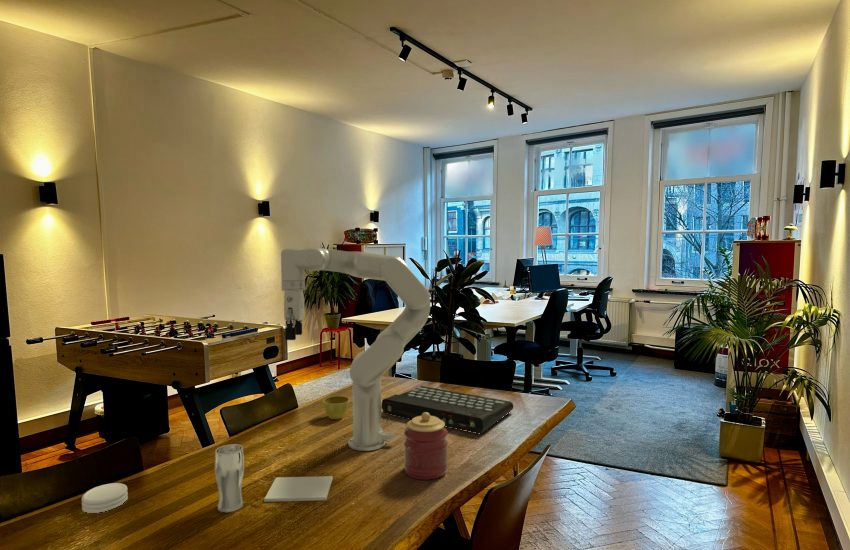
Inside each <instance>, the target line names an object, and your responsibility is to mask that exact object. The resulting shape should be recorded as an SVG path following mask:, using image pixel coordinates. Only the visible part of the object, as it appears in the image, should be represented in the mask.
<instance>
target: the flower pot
mask: <svg viewBox="0 0 850 550" xmlns="http://www.w3.org/2000/svg"><path fill="white" fill-rule="evenodd" d="M322 402H323V403H322V404H323V407H324V409H325V410H324V411H325V413H326V414H327V416H328V418H329V419H330V418H331V419H330V420H333V419H338V420H341V419H340V418H342V419H343V418H344V416H345V415H346V412H347V410H348V408H349V403H350V398H349V397H347V396H344V395H334V396H333V395H332V396H328V397H325V398H324V399H323V400H322Z"/></svg>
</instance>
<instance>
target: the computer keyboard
mask: <svg viewBox="0 0 850 550" xmlns="http://www.w3.org/2000/svg"><path fill="white" fill-rule="evenodd" d="M513 409H514V403H513V402H512V401H508V400H505V399H504V400H503V399H499V398H492V397H487V396H480V395H475V394H470V393H464V392H459V391H451V390H447V389H442V388H436V387H430V386H423V385H421V386H418V387H415V388H413V389H411V390H408V391H405V392H403V393H400V394H396V393H395V394H393V395H391V396H387V397H385V398H382V399H381V410H382V412H383V414H384V413H388V414H392V415H396V416H395V417H397V416H400V417H399V418H401V417H404V418H403V419H406V418H409V419H408V420H410V419H413V418H415V417H417V416H422V414H423V413H424V412H428V413H429V414H430V416H435V417H437V418H439V419H440V420H442V421H443V422H444V423H445V426H447V427H453V428H457V429H462V430H467V431H471V432H476V433H480V435H482V434H483V433H485V432H486V431H488V430H489V429H490V428H492V427H493V426H494V425H495V423H496V422H497V421H498V420H500V419H501V418H502V417H503V416H505V415H506V414H507V413H509V412H510V411H511V412H512V411H513ZM511 412H510V413H511ZM388 414H387V415H388ZM392 415H391V416H392ZM505 417H506V416H505ZM501 420H502V419H501ZM501 420H500V421H501ZM498 422H499V421H498ZM498 422H497V423H498ZM497 423H496V424H497ZM493 424H494V425H493ZM492 425H493V426H492ZM491 426H492V427H491ZM489 427H490V428H489ZM488 428H489V429H488ZM485 430H486V431H485ZM484 431H485V432H484ZM481 433H482V434H481Z"/></svg>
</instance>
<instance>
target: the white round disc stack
mask: <svg viewBox="0 0 850 550" xmlns="http://www.w3.org/2000/svg"><path fill="white" fill-rule="evenodd" d="M128 495H129V492H128V486H127V485H126V484H124V483H120V482H119V483H118V482H114V483H112V482H111V483H107V484H101V485H99V486H95V487H93V488H91V489H88V490H87V491H86V492H84V494H83V495H82V497H81V510H82V512H84V513H85V512H87V513H86V514H89V513H97V514H100V513H99V512H103V513H106V512H105V511H107V512H109V511H108V510H111V509H113V508H116V507H118V506H120V505H122V504H123V503H124V502H125V501H126V500H127V501H128V500H129V496H128ZM127 501H126V502H127ZM126 502H125V503H126ZM125 503H124V504H125ZM124 504H123V505H124ZM123 505H122V506H123ZM120 507H121V506H120ZM118 508H119V507H118ZM116 509H117V508H116ZM113 510H114V509H113ZM111 511H112V510H111Z"/></svg>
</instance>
